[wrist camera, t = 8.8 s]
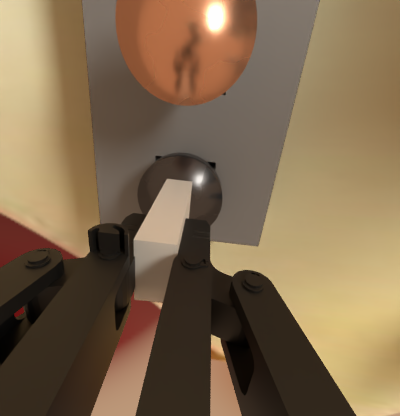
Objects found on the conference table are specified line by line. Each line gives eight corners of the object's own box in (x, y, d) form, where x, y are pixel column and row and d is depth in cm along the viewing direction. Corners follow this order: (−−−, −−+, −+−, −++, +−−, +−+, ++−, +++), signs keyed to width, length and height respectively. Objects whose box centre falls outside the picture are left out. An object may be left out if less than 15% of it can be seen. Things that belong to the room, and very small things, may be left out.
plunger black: (156, 137, 18) (137, 152, 14) (224, 145, 18) (228, 162, 14) (154, 200, 20) (137, 231, 16) (215, 206, 20) (216, 240, 16)
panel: (108, -219, 13) (49, -396, 8) (338, -193, 13) (408, -355, 8) (123, 201, 23) (100, 228, 18) (249, 216, 23) (258, 246, 18)
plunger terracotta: (150, -13, 12) (112, -79, 8) (249, -2, 12) (272, -60, 8) (148, 97, 15) (118, 98, 10) (233, 107, 15) (242, 112, 10)
